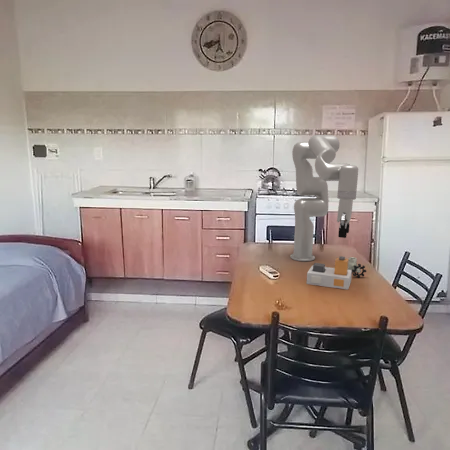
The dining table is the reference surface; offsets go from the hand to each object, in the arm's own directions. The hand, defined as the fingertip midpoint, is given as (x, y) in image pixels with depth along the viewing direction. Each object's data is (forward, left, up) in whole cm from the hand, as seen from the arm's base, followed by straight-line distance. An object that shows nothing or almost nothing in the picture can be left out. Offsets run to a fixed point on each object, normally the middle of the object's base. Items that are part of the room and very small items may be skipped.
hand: (343, 235), depth 184 cm
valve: (-18, +5, -22) cm, 29 cm away
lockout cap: (0, 0, -17) cm, 17 cm away
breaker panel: (0, -5, -22) cm, 22 cm away
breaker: (0, -9, -19) cm, 21 cm away
